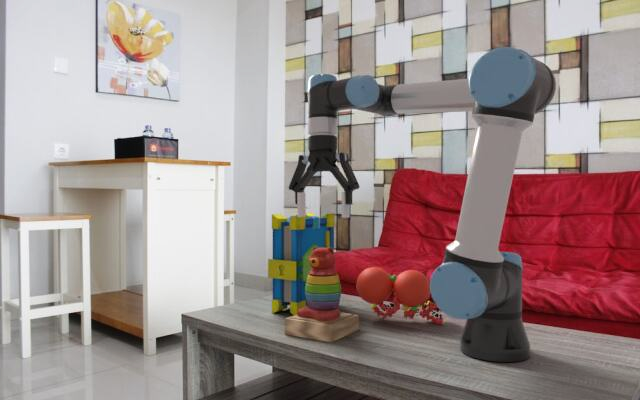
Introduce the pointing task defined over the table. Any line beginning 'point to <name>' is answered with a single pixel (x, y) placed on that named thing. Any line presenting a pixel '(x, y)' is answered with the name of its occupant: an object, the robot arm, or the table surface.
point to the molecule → (397, 293)
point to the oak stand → (322, 327)
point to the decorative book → (296, 256)
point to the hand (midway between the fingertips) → (323, 217)
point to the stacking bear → (322, 287)
